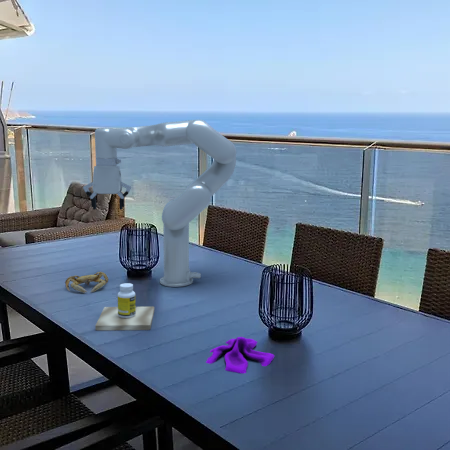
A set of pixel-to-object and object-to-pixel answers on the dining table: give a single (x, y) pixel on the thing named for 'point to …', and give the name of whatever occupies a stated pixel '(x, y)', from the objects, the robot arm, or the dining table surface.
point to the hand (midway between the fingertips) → (107, 209)
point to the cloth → (239, 354)
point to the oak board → (125, 319)
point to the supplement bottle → (126, 301)
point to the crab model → (86, 281)
